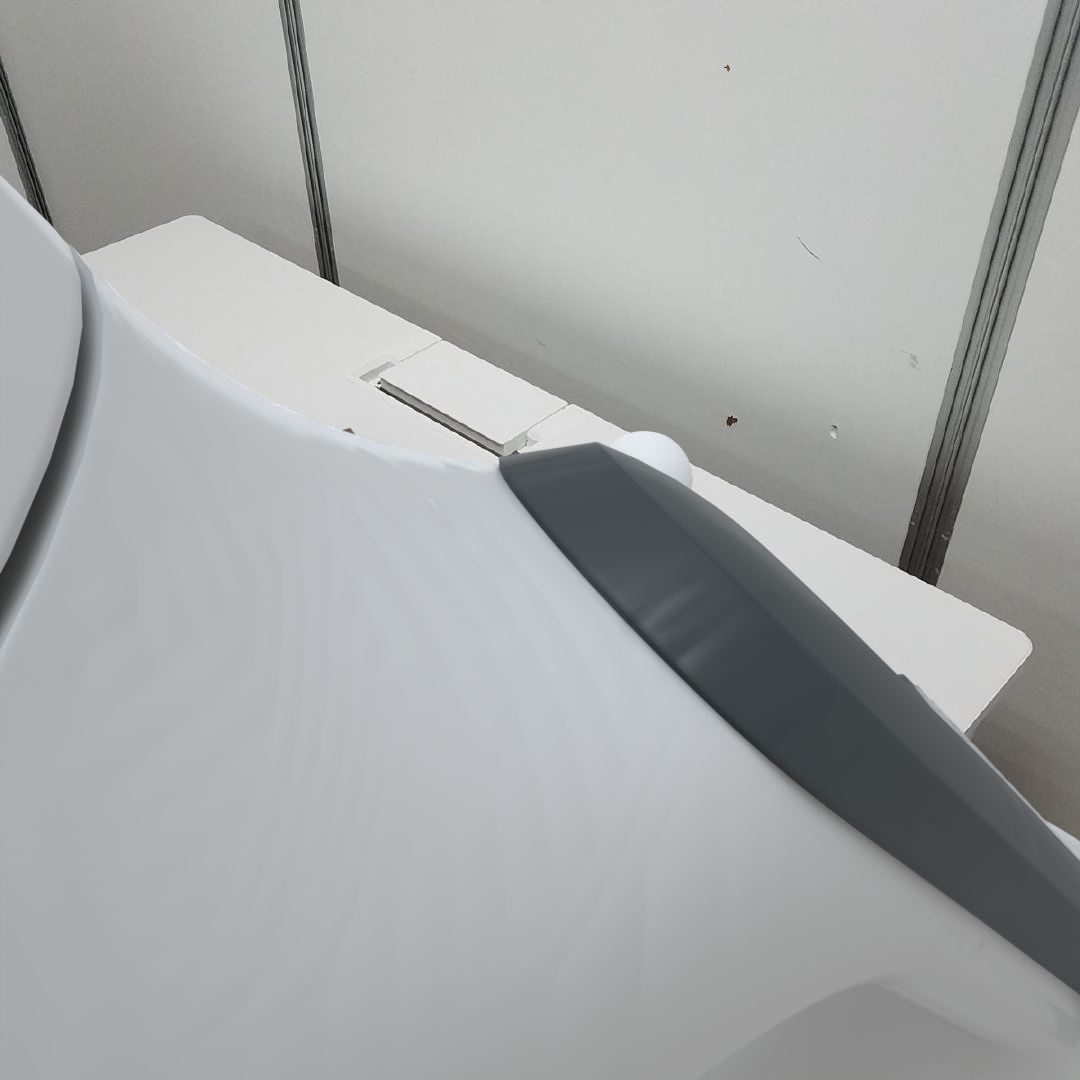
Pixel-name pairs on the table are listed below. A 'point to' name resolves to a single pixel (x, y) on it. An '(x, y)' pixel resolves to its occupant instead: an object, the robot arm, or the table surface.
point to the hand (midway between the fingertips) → (471, 729)
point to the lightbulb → (657, 454)
